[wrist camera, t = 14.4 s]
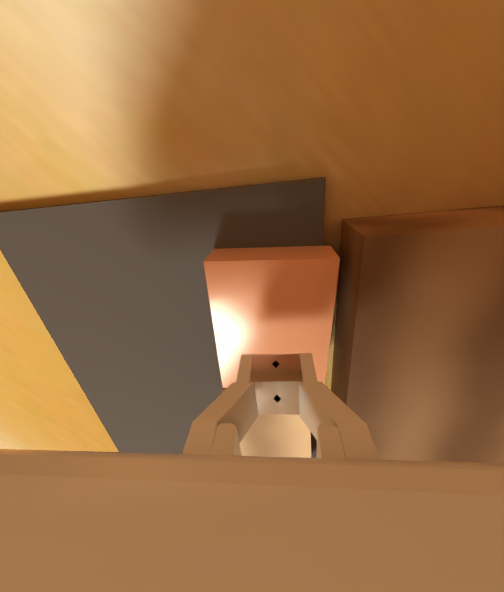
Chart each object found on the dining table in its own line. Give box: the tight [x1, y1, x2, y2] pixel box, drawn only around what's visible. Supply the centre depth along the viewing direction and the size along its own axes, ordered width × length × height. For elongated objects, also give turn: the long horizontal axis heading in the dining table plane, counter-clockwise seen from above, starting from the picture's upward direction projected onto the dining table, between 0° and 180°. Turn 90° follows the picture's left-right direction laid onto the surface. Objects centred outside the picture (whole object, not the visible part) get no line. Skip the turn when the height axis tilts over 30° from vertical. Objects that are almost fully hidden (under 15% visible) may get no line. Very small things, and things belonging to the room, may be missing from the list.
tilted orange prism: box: [203, 245, 340, 388], centre depth 13 cm, size 6×8×2 cm
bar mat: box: [0, 177, 325, 458], centre depth 18 cm, size 18×24×1 cm
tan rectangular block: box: [221, 389, 311, 458], centre depth 18 cm, size 6×8×2 cm
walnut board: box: [331, 206, 504, 463], centre depth 14 cm, size 14×20×4 cm
